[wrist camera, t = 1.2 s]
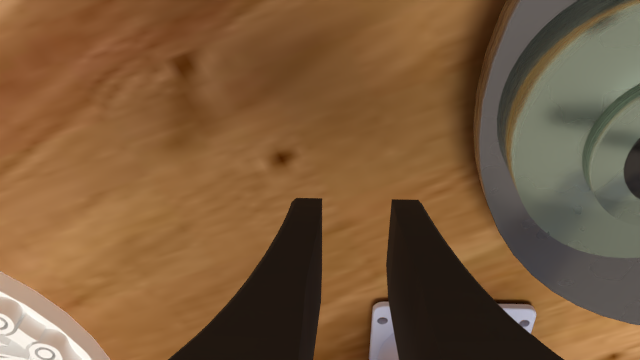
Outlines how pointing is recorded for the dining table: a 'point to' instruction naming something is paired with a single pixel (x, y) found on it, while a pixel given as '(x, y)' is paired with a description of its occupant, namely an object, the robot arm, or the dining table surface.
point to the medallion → (40, 328)
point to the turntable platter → (504, 201)
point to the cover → (579, 127)
